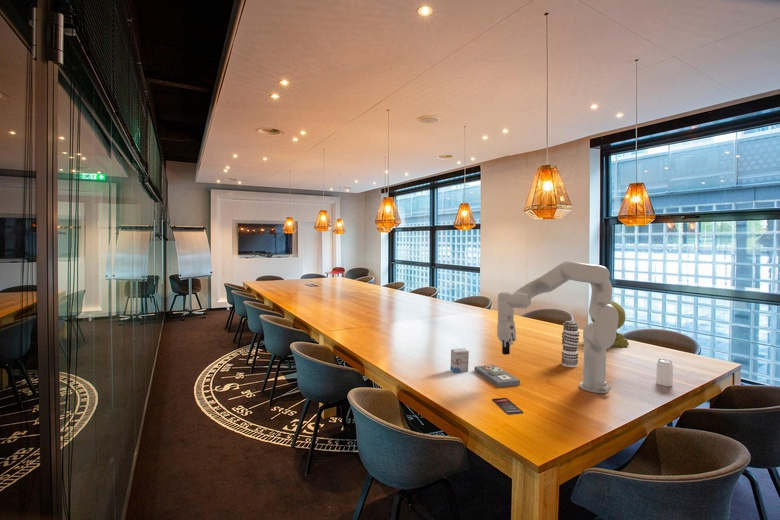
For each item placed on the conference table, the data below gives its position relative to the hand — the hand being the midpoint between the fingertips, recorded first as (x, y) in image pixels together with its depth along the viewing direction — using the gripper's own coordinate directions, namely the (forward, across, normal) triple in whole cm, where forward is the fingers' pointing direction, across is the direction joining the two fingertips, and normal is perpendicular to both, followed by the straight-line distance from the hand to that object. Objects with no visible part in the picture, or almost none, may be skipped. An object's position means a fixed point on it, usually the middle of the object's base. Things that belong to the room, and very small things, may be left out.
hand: (505, 353), depth 187 cm
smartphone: (+15, -23, +15) cm, 31 cm away
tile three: (+14, +15, +1) cm, 21 cm away
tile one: (+14, 0, +1) cm, 14 cm away
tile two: (+13, +8, +1) cm, 15 cm away
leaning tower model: (+16, +15, -51) cm, 56 cm away
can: (+17, -22, -75) cm, 80 cm away
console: (+15, +8, +1) cm, 17 cm away
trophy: (+17, +47, -110) cm, 121 cm away
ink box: (+14, +22, +15) cm, 30 cm away
